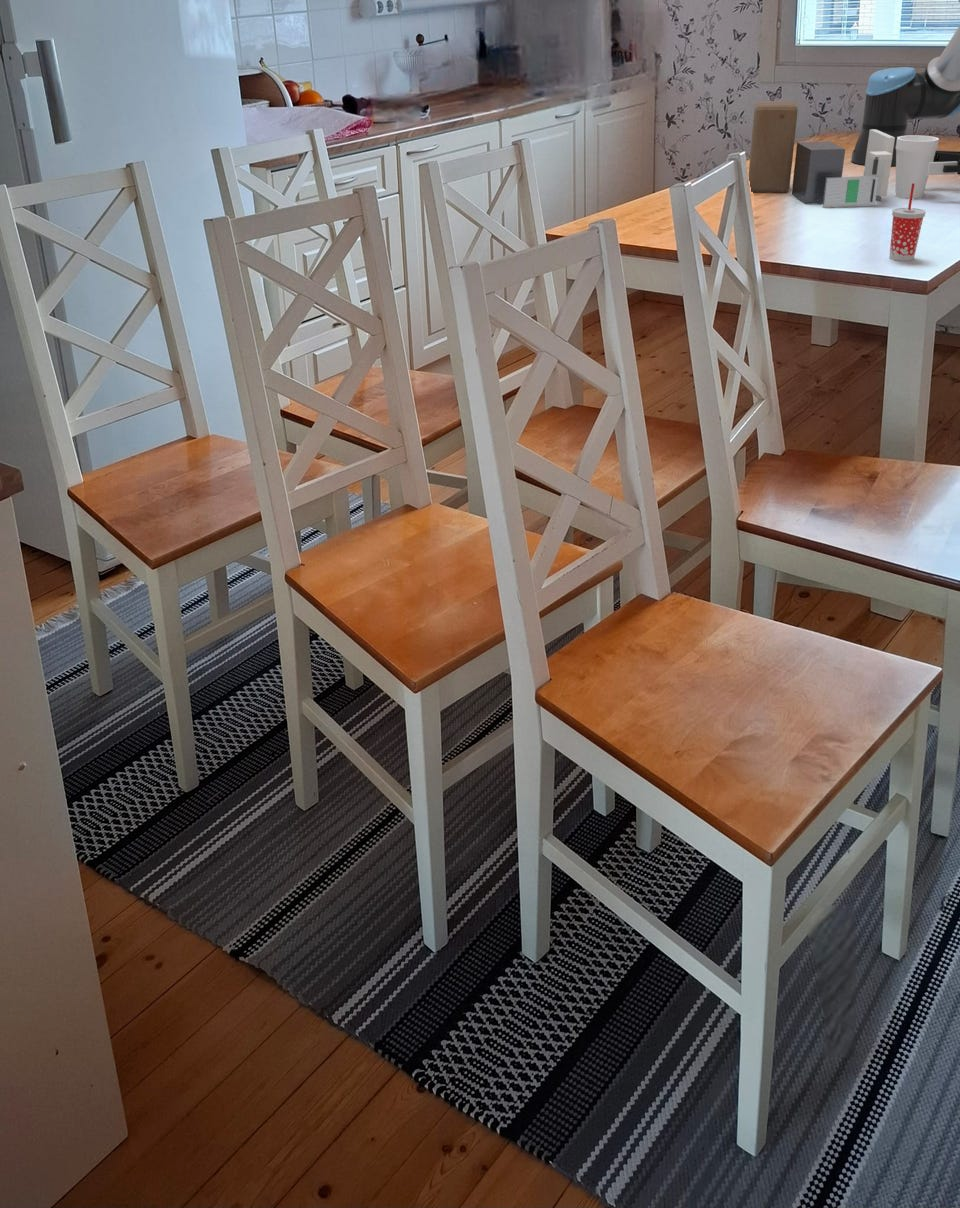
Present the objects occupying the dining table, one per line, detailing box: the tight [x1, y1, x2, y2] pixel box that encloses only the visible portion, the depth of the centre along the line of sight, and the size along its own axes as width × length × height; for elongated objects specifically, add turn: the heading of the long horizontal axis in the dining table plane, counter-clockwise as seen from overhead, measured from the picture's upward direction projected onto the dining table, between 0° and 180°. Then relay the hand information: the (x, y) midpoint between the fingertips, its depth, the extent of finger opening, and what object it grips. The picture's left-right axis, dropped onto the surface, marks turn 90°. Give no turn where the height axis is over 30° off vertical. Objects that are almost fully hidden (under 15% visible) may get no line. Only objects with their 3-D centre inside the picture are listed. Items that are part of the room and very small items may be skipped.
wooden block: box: [748, 100, 799, 194], centre depth 288 cm, size 10×10×20 cm
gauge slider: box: [863, 129, 895, 197], centre depth 276 cm, size 6×17×13 cm, turn 2°
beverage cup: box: [888, 183, 926, 262], centre depth 226 cm, size 6×6×14 cm
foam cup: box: [894, 134, 939, 199], centre depth 279 cm, size 10×9×13 cm
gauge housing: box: [791, 140, 882, 209], centre depth 277 cm, size 18×17×12 cm
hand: (917, 163), depth 278 cm, fingers open, 13 cm apart
